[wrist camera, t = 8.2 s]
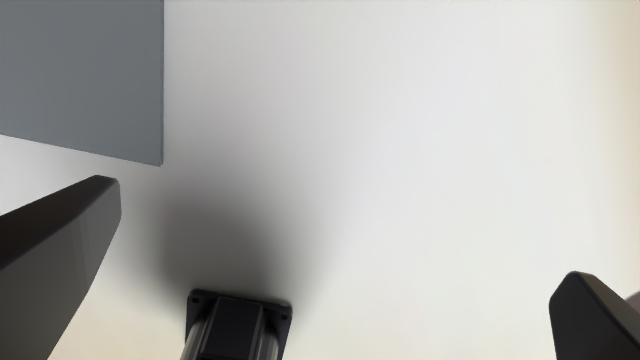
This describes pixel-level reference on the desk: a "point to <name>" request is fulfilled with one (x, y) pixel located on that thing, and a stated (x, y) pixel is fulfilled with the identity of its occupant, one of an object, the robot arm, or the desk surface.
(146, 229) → the desk surface
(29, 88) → the build mat
